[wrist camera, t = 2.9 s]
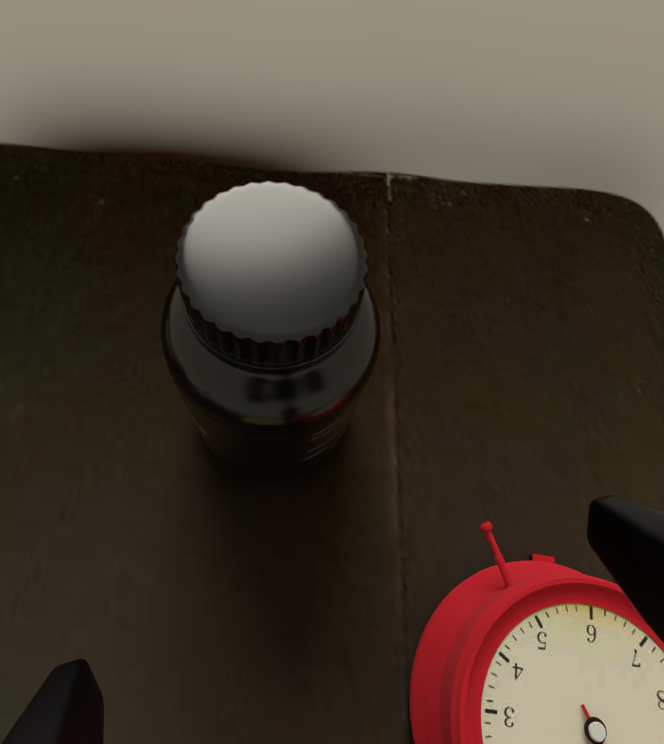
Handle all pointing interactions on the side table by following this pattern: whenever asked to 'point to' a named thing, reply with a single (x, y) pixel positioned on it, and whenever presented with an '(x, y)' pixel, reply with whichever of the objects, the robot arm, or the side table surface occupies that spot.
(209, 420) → the supplement bottle
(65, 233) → the side table surface
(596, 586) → the alarm clock
